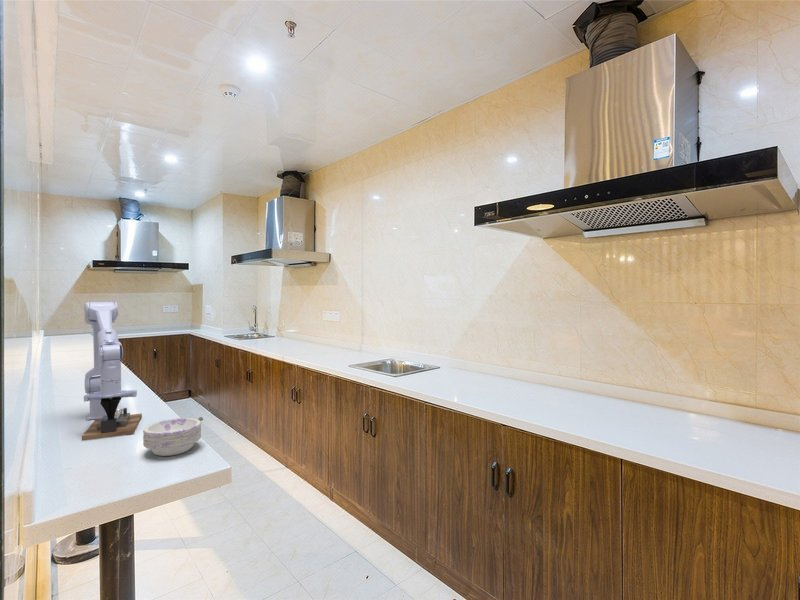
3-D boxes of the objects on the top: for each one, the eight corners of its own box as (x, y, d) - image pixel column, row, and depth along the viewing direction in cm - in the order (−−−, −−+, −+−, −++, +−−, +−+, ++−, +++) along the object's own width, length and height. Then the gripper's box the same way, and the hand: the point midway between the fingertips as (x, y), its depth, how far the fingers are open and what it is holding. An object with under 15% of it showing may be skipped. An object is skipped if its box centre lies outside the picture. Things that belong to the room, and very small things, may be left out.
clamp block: (104, 419, 146) (104, 408, 145) (130, 417, 149) (130, 406, 149) (93, 434, 131) (93, 422, 131) (123, 430, 134) (122, 418, 134)
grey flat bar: (112, 413, 146) (112, 409, 146) (122, 412, 148) (122, 408, 148) (104, 424, 134) (104, 421, 134) (115, 423, 136) (115, 419, 136)
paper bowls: (188, 437, 133) (188, 413, 133) (210, 449, 123) (209, 423, 123) (135, 451, 121) (135, 425, 121) (155, 465, 111) (154, 437, 111)
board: (96, 422, 147) (96, 418, 147) (141, 417, 153) (141, 413, 153) (81, 440, 129) (81, 436, 129) (133, 434, 135) (133, 429, 135)
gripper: (80, 384, 130) (81, 426, 130) (134, 380, 136) (134, 420, 136) (86, 380, 136) (87, 420, 136) (137, 376, 142) (137, 414, 143)
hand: (111, 419), depth 137 cm, fingers closed
